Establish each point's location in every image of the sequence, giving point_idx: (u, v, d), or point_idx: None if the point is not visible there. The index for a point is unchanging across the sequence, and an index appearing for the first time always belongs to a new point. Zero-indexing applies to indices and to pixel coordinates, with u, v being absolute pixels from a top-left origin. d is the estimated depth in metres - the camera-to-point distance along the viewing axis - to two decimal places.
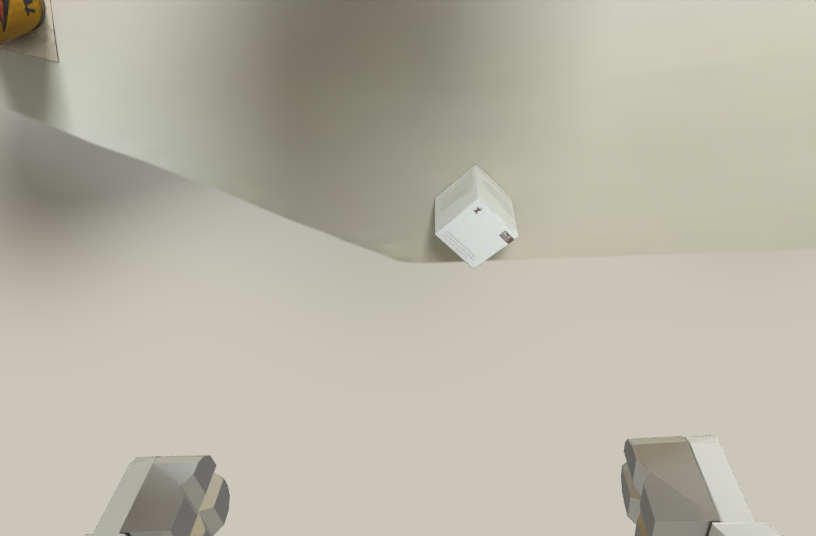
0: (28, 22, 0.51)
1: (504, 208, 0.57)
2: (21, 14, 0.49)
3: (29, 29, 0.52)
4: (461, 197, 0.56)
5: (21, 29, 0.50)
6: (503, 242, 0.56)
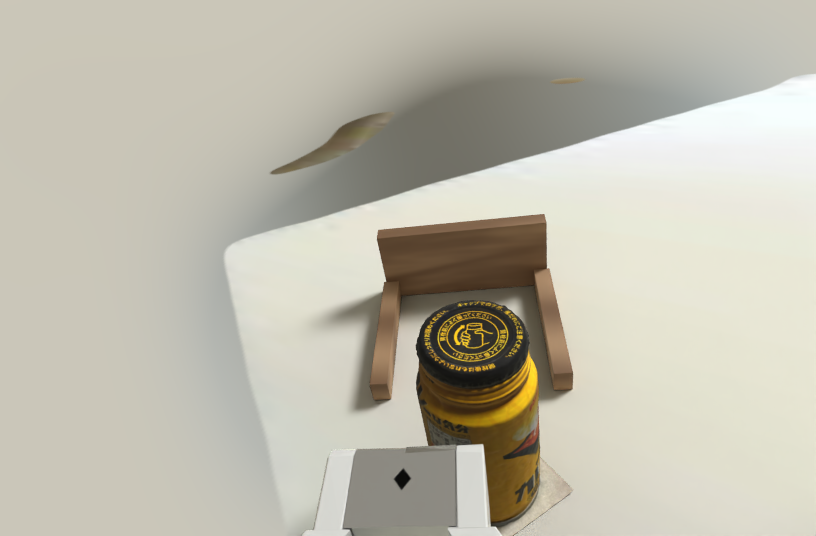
0: (506, 498, 0.29)
1: None
2: (518, 481, 0.29)
3: None
4: None
5: (493, 492, 0.29)
6: None
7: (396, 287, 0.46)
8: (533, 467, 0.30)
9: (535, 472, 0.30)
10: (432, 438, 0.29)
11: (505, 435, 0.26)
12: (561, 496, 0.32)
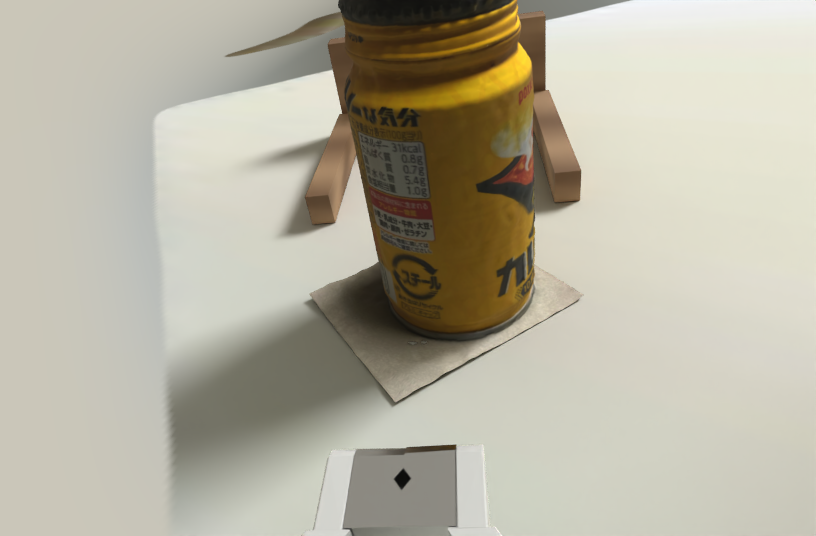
0: (483, 279, 0.19)
1: None
2: (502, 250, 0.19)
3: (449, 304, 0.20)
4: None
5: (463, 264, 0.19)
6: None
7: None
8: (524, 238, 0.20)
9: (528, 252, 0.20)
10: (368, 173, 0.18)
11: (479, 134, 0.16)
12: (566, 302, 0.22)
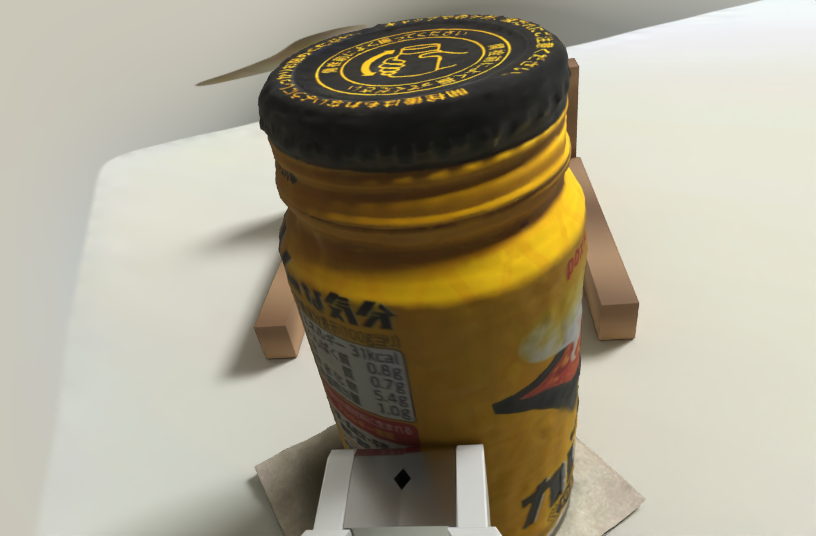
0: (500, 516, 0.12)
1: None
2: (531, 475, 0.12)
3: None
4: None
5: None
6: None
7: None
8: (565, 444, 0.13)
9: (568, 457, 0.13)
10: (319, 363, 0.12)
11: (500, 339, 0.09)
12: (622, 512, 0.15)
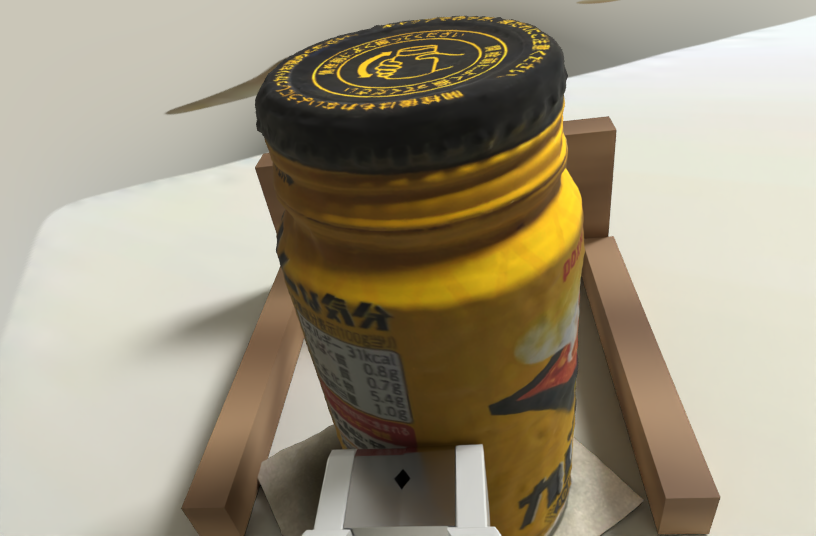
0: (498, 517, 0.12)
1: None
2: (528, 476, 0.12)
3: None
4: None
5: None
6: None
7: None
8: (562, 445, 0.13)
9: (565, 458, 0.13)
10: (317, 364, 0.12)
11: (496, 341, 0.09)
12: (619, 513, 0.15)
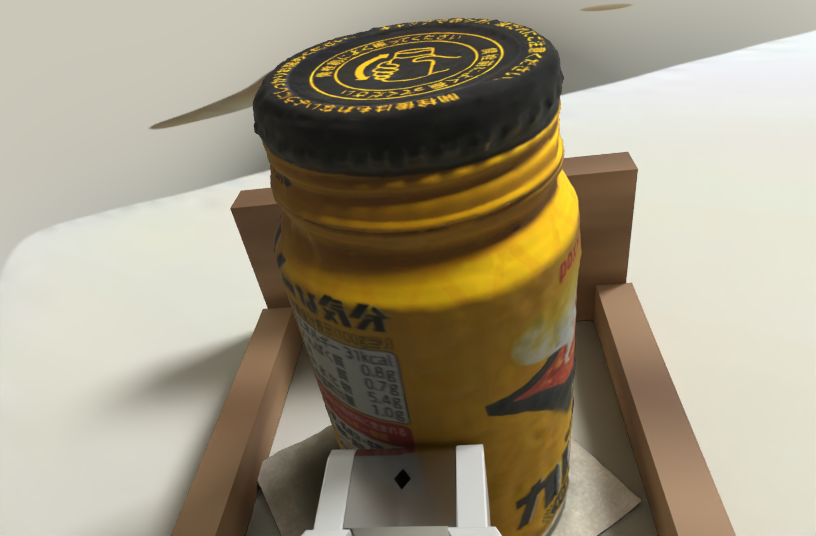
0: (494, 517, 0.12)
1: None
2: (525, 476, 0.12)
3: None
4: None
5: None
6: None
7: (285, 321, 0.21)
8: (559, 446, 0.13)
9: (563, 458, 0.13)
10: (315, 365, 0.12)
11: (492, 341, 0.09)
12: (617, 513, 0.15)
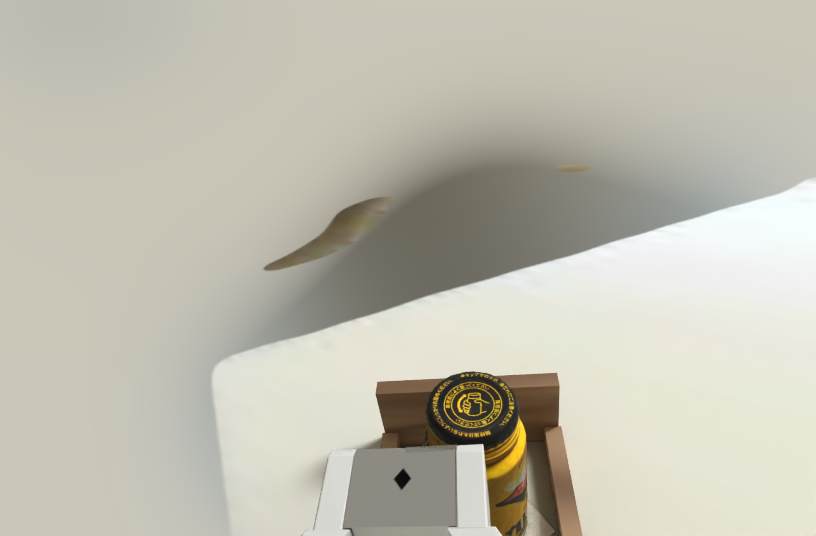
0: None
1: None
2: (508, 524, 0.35)
3: None
4: None
5: None
6: None
7: (395, 441, 0.43)
8: (521, 512, 0.35)
9: (523, 516, 0.36)
10: None
11: (498, 488, 0.32)
12: None
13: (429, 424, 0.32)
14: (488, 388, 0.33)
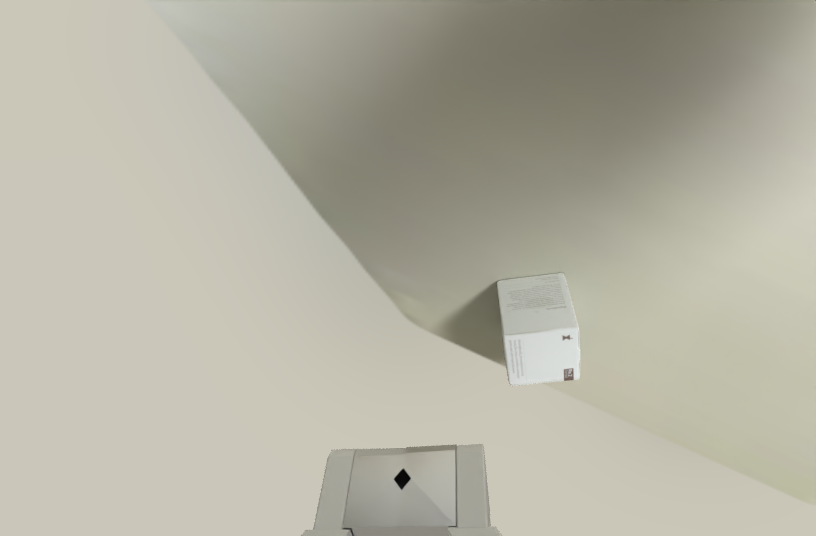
0: None
1: None
2: None
3: None
4: (547, 309, 0.47)
5: None
6: (561, 377, 0.48)
7: None
8: None
9: None
10: None
11: None
12: None
13: None
14: None
